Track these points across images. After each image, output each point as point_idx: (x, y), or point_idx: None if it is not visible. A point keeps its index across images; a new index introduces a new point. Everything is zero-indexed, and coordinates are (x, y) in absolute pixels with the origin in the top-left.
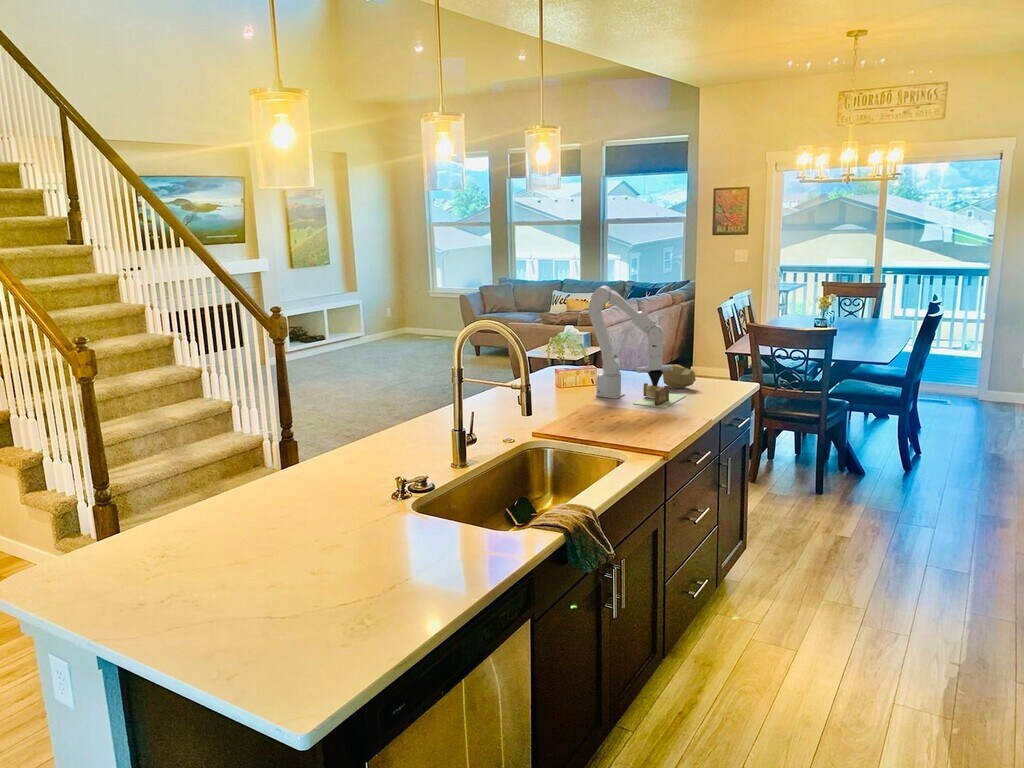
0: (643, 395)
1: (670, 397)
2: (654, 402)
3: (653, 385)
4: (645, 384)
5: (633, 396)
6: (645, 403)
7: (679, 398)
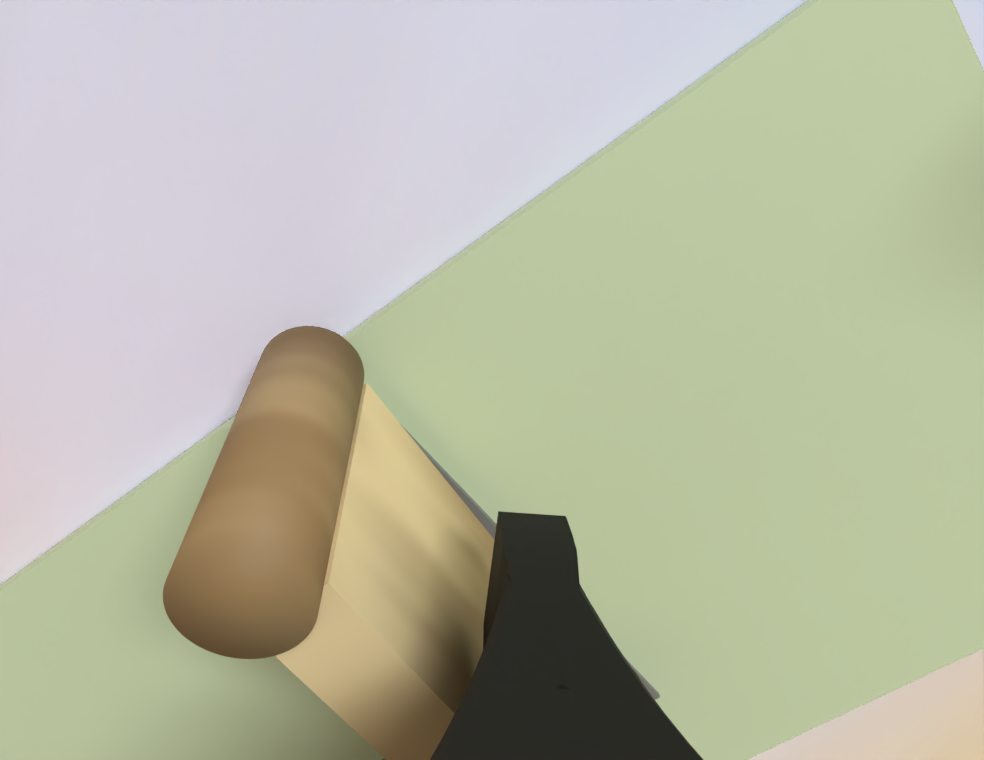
0: (259, 360)
1: (794, 574)
2: (300, 742)
3: (449, 715)
4: (210, 634)
5: (62, 97)
6: (111, 748)
7: (881, 679)
